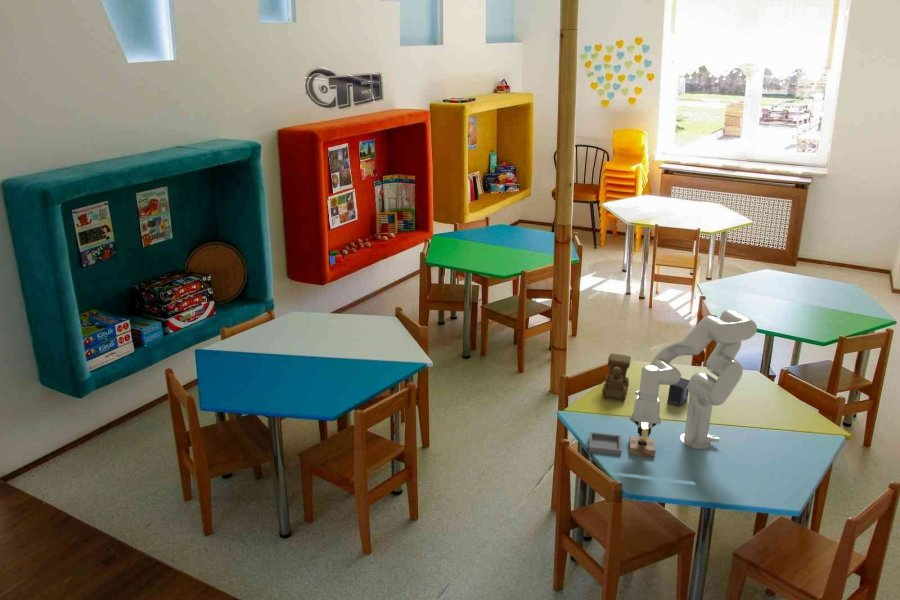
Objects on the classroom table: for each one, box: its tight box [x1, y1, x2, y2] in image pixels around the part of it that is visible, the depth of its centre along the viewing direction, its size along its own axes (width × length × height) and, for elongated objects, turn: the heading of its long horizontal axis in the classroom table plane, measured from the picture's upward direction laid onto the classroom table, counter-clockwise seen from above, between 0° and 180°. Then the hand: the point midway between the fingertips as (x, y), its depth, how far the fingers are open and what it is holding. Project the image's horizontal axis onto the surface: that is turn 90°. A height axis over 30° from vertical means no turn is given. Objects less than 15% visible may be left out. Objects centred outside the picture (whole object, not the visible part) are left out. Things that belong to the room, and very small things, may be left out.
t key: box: [639, 422, 649, 446], centre depth 321 cm, size 8×2×9 cm, turn 169°
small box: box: [666, 377, 690, 408], centre depth 367 cm, size 11×6×10 cm, turn 143°
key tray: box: [588, 431, 623, 456], centre depth 326 cm, size 13×13×3 cm
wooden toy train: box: [601, 353, 632, 402], centre depth 373 cm, size 20×11×17 cm, turn 162°
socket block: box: [628, 435, 656, 458], centre depth 323 cm, size 10×10×4 cm
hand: (643, 434), depth 321 cm, fingers closed on t key, 2 cm apart
